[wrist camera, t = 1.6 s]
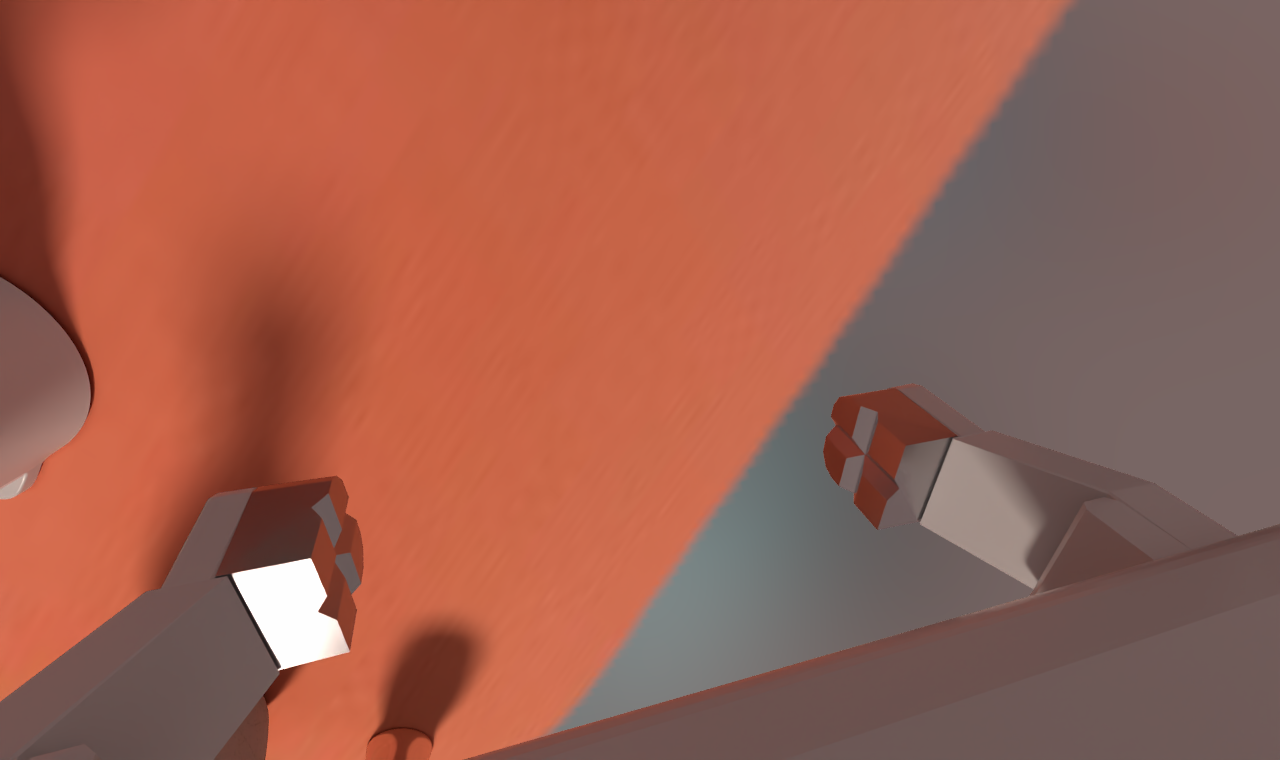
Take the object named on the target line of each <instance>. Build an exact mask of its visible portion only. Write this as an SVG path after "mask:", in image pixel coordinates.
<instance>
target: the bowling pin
mask: <svg viewBox="0 0 1280 760" xmlns="http://www.w3.org/2000/svg"><path fill="white" fill-rule="evenodd" d="M268 725H269V716H268V708H267V704H266V700H265V698H264V697H263V696H262V697H261V699H260V700H259V701H258V703H257V704H256V705H255V706H254V708H253V709H252V710H251V712H250V713H249V714H248V716H247V717H246V718H245V719H244V721H243V722H242V723H241V725H240V726H239V727H238V728H237V730H236V731H235V732H234V734H233V735H232V736H231V738H230V739H229V740H228V741H227V743H226V744H225V745H224V747H223V748H222V749H221V751H220V752H219V753H218V754H217V756H216V757H215V758H214V760H265V757H266V749H267V740H268Z"/></svg>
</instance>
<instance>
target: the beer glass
mask: <svg viewBox="0 0 1280 760" xmlns="http://www.w3.org/2000/svg"><path fill="white" fill-rule="evenodd" d="M431 752H432V742H431V740H430V738H429V737H428V736H427V735H425V734H424V733H422V732H420V731H417V730H414V729H408V728H396V729H390V730H387V731H384V732H381V733H379V734H378V735H376V736H375V737H373V738H372V739H371V741H370V742H369V744H368V746H367V749H366V758H365V760H429V758H430V755H431Z"/></svg>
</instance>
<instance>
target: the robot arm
mask: <svg viewBox="0 0 1280 760" xmlns="http://www.w3.org/2000/svg"><path fill="white" fill-rule="evenodd" d="M90 399H91V391H90V383H89V378H88V374H87V371H86V368H85V365H84V362H83V360H82V358H81V356H80V354H79V352H78V350H77V349H76V347H75V345H74V344H73V342H72V341H71V339H70V338H69V336H68V335H67V334H66V332H65V331H64V330H63V328H62V327H61V326H60V325H59V324H58V323H57V322H56V320H55V319H54V318H53V317H52V316H51V315H50V314H49V313H48V312H47V311H46V310H45V309H43V308H42V307H41V306H40V305H39V304H38V303H37V302H35V301H34V300H33V299H32V298H31V297H29V296H28V295H27V294H25V293H24V292H23V291H21V290H20V289H18V288H17V287H15V286H14V285H12V284H11V283H9V282H8V281H6V280H4V279H3V278H1V277H0V499H10V498H13V497H15V496H17V495H19V494H21V493H22V492H24V491H26V490H27V489H29V488H30V487H31V486H32V485H33V483H34V482H35V480H36V478H37V476H38V473H39V471H40V468H41V465H42V462H43V461H44V460H45V459H46V458H47V457H49V456H50V455H51V454H53V453H54V452H56V451H57V450H59V449H60V448H62V447H63V446H65V445H66V444H67V443H68V442H70V441H71V440H72V439H73V438H74V437H75V436H76V434H77V433H78V432H79V431H80V429H81V428H82V426H83V424H84V422H85V420H86V418H87V415H88V412H89V407H90ZM831 417H832V419H833V421H834V423H835V424H836V426H835V427H834V428H833V429H832V430H831V432H830V433H829V434H828V435H827V436H826V441H825V445H824V451H823V453H824V459H825V464H826V468H827V470H828V471H829V474H830V476H831V477H832V478H833V480H834V481H835V482H836V483H837V484H838V486H840V487H842V488H844V489H846V490H848V491H850V492H853V493H854V504H855V505H856V506H857V507H858V509H859V510H860V511H861V512H862V513H863V514H864V515H865V516H866V518H867V519H868V520H869V521H870V522H871V523H872V524H873V526H874V527H875V528H876V529H877V530H880V529H885V528H890V527H895V526H900V525H905V524H910V523H915V522H920V521H921V522H920V524H921V525H923V526H924V527H926V528H928V529H929V530H931V531H933V532H935V533H936V534H938V535H940V536H942V537H943V538H945V539H947V540H949V541H951V542H952V543H954V544H956V545H957V546H959V547H961V548H963V549H964V550H966V551H968V552H970V553H971V554H973V555H975V556H976V557H978V558H980V559H982V560H984V561H985V562H987V563H989V564H990V565H993V566H994V567H996V568H997V569H999V570H1001V571H1003V572H1004V573H1006V574H1008V575H1010V576H1011V577H1013V578H1015V579H1017V580H1018V581H1020V582H1022V583H1023V584H1025V585H1027V586H1029V587H1030V588H1032V589H1033V591H1032V593H1031V595H1030V596H1029V597H1026V598H1022V599H1018V600H1015V601H1012V602H1008V603H1005V604H1001V605H998V606H994V607H991V608H987V609H984V610H980V611H977V612H973V613H970V614H967V615H963V616H960V617H956V618H953V619H949V620H946V621H942V622H939V623H935V624H932V625H928V626H925V627H922V628H918V629H915V630H911V631H908V632H904V633H901V634H897V635H894V636H890V637H887V638H884V639H880V640H877V641H873V642H870V643H867V644H863V645H859V646H856V647H852V648H849V649H846V650H842V651H839V652H835V653H832V654H829V655H825V656H821V657H818V658H815V659H811V660H808V661H804V662H801V663H797V664H794V665H791V666H787V667H783V668H780V669H777V670H773V671H770V672H766V673H763V674H759V675H756V676H752V677H749V678H745V679H742V680H739V681H735V682H732V683H728V684H725V685H721V686H718V687H715V688H711V689H707V690H704V691H700V692H697V693H693V694H690V695H686V696H683V697H680V698H676V699H673V700H669V701H666V702H662V703H659V704H655V705H652V706H649V707H645V708H641V709H638V710H634V711H631V712H627V713H624V714H620V715H617V716H614V717H610V718H607V719H603V720H600V721H596V722H593V723H589V724H586V725H583V726H579V727H575V728H572V729H568V730H565V731H561V732H558V733H554V734H551V735H548V736H544V737H541V738H537V739H534V740H530V741H527V742H523V743H520V744H516V745H513V746H509V747H506V748H502V749H499V750H495V751H492V752H488V753H485V754H482V755H478V756H475V757H471V758H468V759H464V760H1280V524H1278V525H1274V526H1271V527H1267V528H1264V529H1260V530H1257V531H1254V532H1250V533H1247V534H1243V535H1240V536H1237V535H1236V534H1234V533H1233V532H1231V531H1229V530H1228V529H1226V528H1225V527H1223V526H1222V525H1220V524H1218V523H1217V522H1215V521H1214V520H1212V519H1210V518H1209V517H1207V516H1205V515H1204V514H1202V513H1201V512H1199V511H1198V510H1196V509H1194V508H1193V507H1191V506H1190V505H1188V504H1186V503H1185V502H1183V501H1182V500H1180V499H1179V498H1177V497H1175V496H1174V495H1172V494H1171V493H1169V492H1168V491H1166V490H1164V489H1163V488H1161V487H1160V486H1158V485H1157V484H1155V483H1152V482H1149V481H1146V480H1143V479H1140V478H1137V477H1134V476H1131V475H1128V474H1124V473H1121V472H1118V471H1115V470H1112V469H1109V468H1106V467H1103V466H1100V465H1097V464H1094V463H1090V462H1087V461H1084V460H1081V459H1078V458H1075V457H1072V456H1069V455H1066V454H1063V453H1060V452H1057V451H1054V450H1051V449H1047V448H1044V447H1041V446H1038V445H1035V444H1032V443H1029V442H1026V441H1023V440H1020V439H1017V438H1014V437H1011V436H1007V435H1004V434H1001V433H998V432H995V431H988V432H985V431H983V430H982V429H981V428H979V427H978V426H977V425H975V424H974V423H972V422H971V421H969V420H968V419H967V418H966V417H964V416H963V415H961V414H960V413H959V412H957V411H956V410H954V409H953V408H952V407H950V406H949V405H948V404H946V403H945V402H943V401H942V400H941V399H939V398H938V397H936V396H935V395H934V394H932V393H931V392H930V391H928V390H927V389H926V388H924V387H923V386H920V385H915V384H908V385H903V386H897V387H892V388H888V389H887V390H880V391H874V392H868V393H861V394H855V395H849V396H843V397H839V399H838V400H837V402H836V403H835V404H834V407H833V410H832V414H831ZM348 498H349V496H348V494H347V491H346V489H345V486H344V483H343V481H342V479H340V478H339V477H338V476H332V477H325V478H317V479H310V480H303V481H296V482H288V483H281V484H274V485H266V486H259V487H258V488H247V489H240V490H234V491H227V492H220V493H217V494H215V495H214V496H212V497H210V498H209V499H208V501H207V502H206V504H205V506H204V508H203V510H202V512H201V513H200V515H199V517H198V519H197V521H196V523H195V525H194V527H193V528H192V530H191V532H190V534H189V536H188V538H187V540H186V542H185V543H184V545H183V547H182V549H181V551H180V553H179V555H178V557H177V559H176V560H175V562H174V564H173V566H172V568H171V570H170V572H169V574H168V575H167V577H166V579H165V581H164V583H163V585H162V587H161V589H156V590H151V591H146V592H145V593H143V594H142V595H141V596H140V597H138V598H137V599H136V600H134V601H133V602H132V603H130V604H129V605H128V606H126V607H125V608H124V609H122V610H121V611H120V612H118V613H117V614H116V615H114V616H113V617H112V618H110V619H109V620H108V621H106V622H105V623H104V624H103V625H101V626H100V627H99V628H97V629H96V630H95V631H93V632H92V633H91V634H89V635H88V636H87V637H85V638H84V639H83V640H81V641H80V642H79V643H77V644H76V645H75V646H73V647H72V648H71V649H69V650H68V651H67V652H66V653H64V654H63V655H62V656H60V657H59V658H58V659H56V660H55V661H54V662H52V663H51V664H50V665H48V666H47V667H46V668H44V669H43V670H42V671H40V672H39V673H38V674H36V675H35V676H34V677H32V678H31V679H30V680H29V681H27V682H26V683H25V684H23V685H22V686H21V687H19V688H18V689H17V690H15V691H14V692H13V693H11V694H10V695H9V696H7V697H6V698H5V699H3V700H2V701H1V702H0V760H214V758H215V757H216V756H217V754H218V753H219V752H220V751H221V749H222V748H223V747H224V745H225V744H226V743H227V741H228V740H229V739H230V738H231V736H232V735H233V734H234V732H235V731H236V730H237V728H238V727H239V726H240V725H241V723H242V722H243V721H244V719H245V718H246V717H247V716H248V714H249V713H250V712H251V710H252V709H253V708H254V706H255V705H256V704H257V703H258V701H259V700H260V699H261V697H262V696H263V695H264V693H265V692H266V691H267V690H268V688H269V687H270V686H271V684H272V683H273V682H274V680H275V679H276V678H277V677H278V675H279V674H280V673H279V671H278V670H281V669H285V668H289V667H293V666H297V665H301V664H304V663H308V662H312V661H316V660H320V659H324V658H328V657H332V656H336V655H340V654H343V653H347V652H350V648H351V642H352V636H353V630H354V624H355V618H356V612H357V609H356V606H355V603H354V600H353V598H352V595H351V594H352V593H353V592H354V591H355V590H356V589H357V588H358V587H359V585H360V584H361V581H362V574H363V567H364V566H363V544H362V538H361V533H360V529H359V526H358V523H357V520H356V519H354V518H353V517H351V516H349V515H348V514H346V508H347V503H348Z"/></svg>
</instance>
